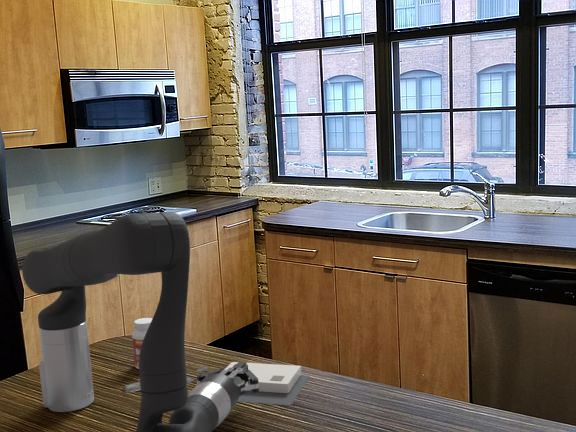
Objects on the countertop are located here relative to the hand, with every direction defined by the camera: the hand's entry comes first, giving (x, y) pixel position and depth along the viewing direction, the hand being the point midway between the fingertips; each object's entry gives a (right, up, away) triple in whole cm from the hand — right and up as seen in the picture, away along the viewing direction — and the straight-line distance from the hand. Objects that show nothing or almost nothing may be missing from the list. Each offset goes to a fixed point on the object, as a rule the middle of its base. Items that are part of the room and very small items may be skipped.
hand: (243, 366), depth 135 cm
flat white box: (+1, -5, +4) cm, 7 cm away
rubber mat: (+2, -6, +7) cm, 10 cm away
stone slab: (-18, -7, +15) cm, 24 cm away
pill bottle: (-24, -5, +24) cm, 34 cm away
